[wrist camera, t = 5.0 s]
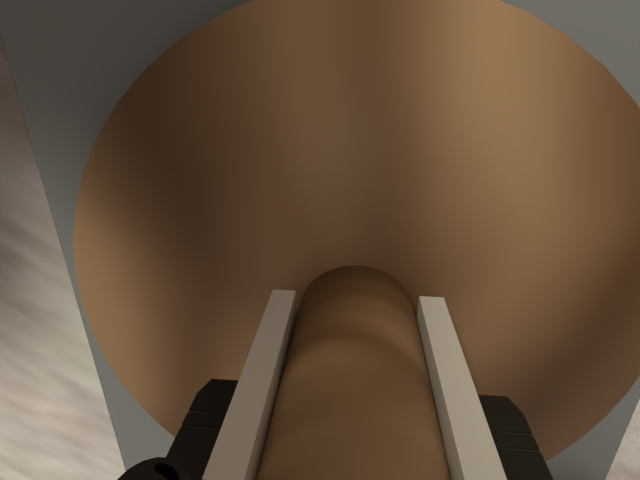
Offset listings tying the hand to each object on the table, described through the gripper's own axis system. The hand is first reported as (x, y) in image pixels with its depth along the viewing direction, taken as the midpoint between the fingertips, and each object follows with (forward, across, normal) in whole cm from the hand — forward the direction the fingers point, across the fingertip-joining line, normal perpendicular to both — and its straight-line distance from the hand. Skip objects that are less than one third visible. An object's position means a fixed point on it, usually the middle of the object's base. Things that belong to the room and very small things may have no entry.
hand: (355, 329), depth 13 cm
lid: (+2, 0, 0) cm, 2 cm away
